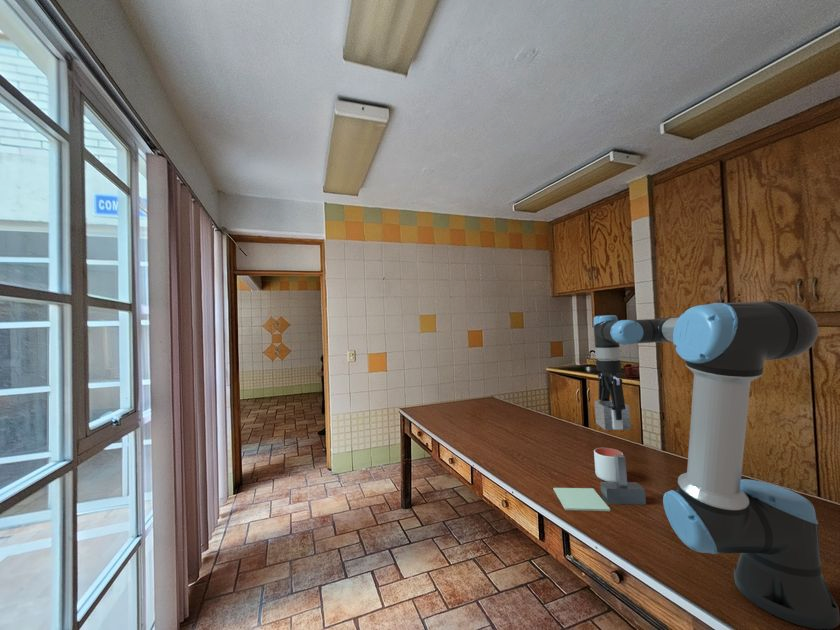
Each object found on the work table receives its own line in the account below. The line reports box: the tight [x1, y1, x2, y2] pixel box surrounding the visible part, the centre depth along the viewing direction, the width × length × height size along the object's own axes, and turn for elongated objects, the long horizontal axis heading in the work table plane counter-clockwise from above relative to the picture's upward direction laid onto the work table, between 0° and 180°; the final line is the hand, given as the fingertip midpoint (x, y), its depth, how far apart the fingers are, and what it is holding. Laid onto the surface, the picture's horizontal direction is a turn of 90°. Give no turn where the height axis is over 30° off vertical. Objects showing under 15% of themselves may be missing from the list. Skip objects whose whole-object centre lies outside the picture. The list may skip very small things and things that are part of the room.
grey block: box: [599, 454, 647, 506], centre depth 112 cm, size 5×12×15 cm, turn 83°
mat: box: [553, 487, 611, 512], centre depth 114 cm, size 14×14×1 cm
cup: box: [593, 447, 624, 482], centre depth 129 cm, size 10×10×10 cm
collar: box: [594, 400, 632, 431], centre depth 113 cm, size 8×8×8 cm
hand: (612, 425), depth 113 cm, fingers closed on collar, 8 cm apart
